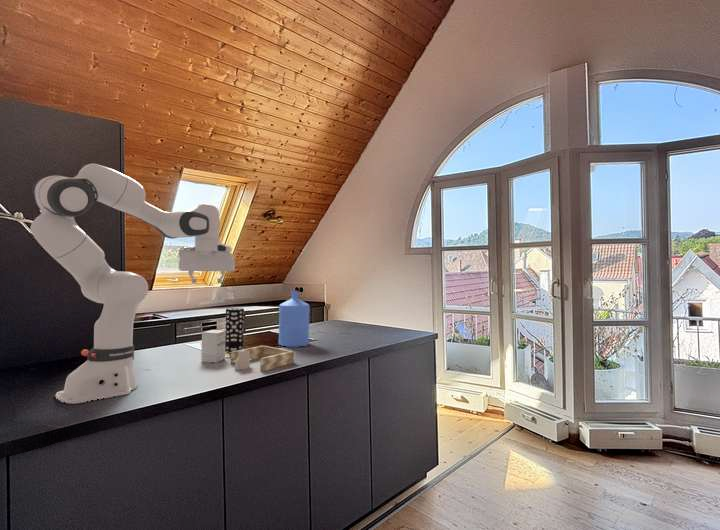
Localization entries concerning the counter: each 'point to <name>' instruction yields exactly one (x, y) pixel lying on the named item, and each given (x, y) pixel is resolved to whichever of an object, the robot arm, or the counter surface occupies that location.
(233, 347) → the white-spotted black cylinder
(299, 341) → the water jug
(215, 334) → the supplement box
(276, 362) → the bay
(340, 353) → the counter surface
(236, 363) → the architectural model
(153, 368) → the counter surface
